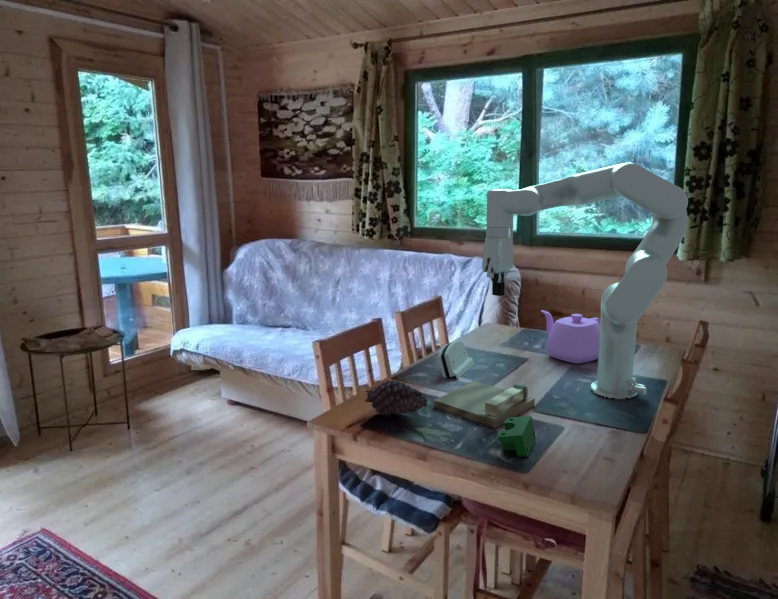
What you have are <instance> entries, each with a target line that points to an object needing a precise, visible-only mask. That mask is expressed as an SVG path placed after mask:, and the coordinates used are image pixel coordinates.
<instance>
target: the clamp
mask: <svg viewBox="0 0 778 599" xmlns="http://www.w3.org/2000/svg"><path fill="white" fill-rule="evenodd" d="M503 426H504V429H505V430H499V431H498V433H497V439H498V442H499V443H501V446H502V450H503V451H516V455H517V457H519V458H521V457H529V456H530V453H531V451H532V448H533V446H534V443H535V442H536V441H535V440H536V430H535V428H534V422H533V418H532V415H523V416H515V417H511V418H507V419H506V420H505V422H504V424H503Z"/></svg>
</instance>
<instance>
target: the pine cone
mask: <svg viewBox="0 0 778 599" xmlns="http://www.w3.org/2000/svg"><path fill="white" fill-rule="evenodd" d="M365 392H366V396H367V397H366V398H365V399H364V402H365V403H370V404H371V407H372V408H374V410H375V412H376V413H377V414H378V413H379V414H380V415H381V416H385V417H387V418H389V417H390V415H395V414H407V413H408V414H409V413H412V412H413V413H414V412H417V411H418V410H420V409H422V408H423V407H424V408H425V407H426V408H427V406H428V398H426V396H425V395H424V396H423V395H422V394H423V393H422V392H421V391H420V390H417V389H416V388H412V387H411V386H410V385H407V384H406V382H401V381H400V380H394V379H392V380H387V381H384V382H382V383H380V384H378V385H377V387H376V386H375V387H373V388H371V389H367V390H365Z"/></svg>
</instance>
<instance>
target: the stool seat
mask: <svg viewBox="0 0 778 599" xmlns="http://www.w3.org/2000/svg"><path fill="white" fill-rule="evenodd" d="M506 390H507V389H503V388H500V387H496V386H493V385H489V384H487V383H483V382H479V381H476V380H473V381H472V382H471V381H470V382H469V383H467V384H464V385H463V386H461V387H459V388H457V389H455V390H451V391H450V392H448V393H446V394H444V395H442V396H440V397H437V398H436V399H434V400H433V407H434V408H436V407H437V408H436V409H438V408H439V410H441V409H442V411H444V410H445V412H448V413H450V414H453V415H456V416H458V417H462V418H465V419H467V420H471V421H474V422H478V423H480V424H483V425H486V426H489V427H492V428H494V429H497V428H498V427H500V426H502V425H504V422H505V420H506V419H507V418H511V417H518V415H521V414H522V413H524V412H525V411H527V410H529V409H530V408H532V407H534V406H535V405H536V399H535V398H534V397H531V396H528V397H527V398H526V399H524V400H522V401H520V402H518V403H517V404H515V405H514V406H512V407H510V408H509V409H507V410H506V411H504V412H502V413H501V414H499V415H498V416H496V417H495V416H492V415H489V414H486V413H485V402H487V401H488V400H490V399H492V398H494V397H495V396H497V395H499V394H500V393H502V392H504V391H506Z"/></svg>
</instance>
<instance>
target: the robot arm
mask: <svg viewBox="0 0 778 599" xmlns="http://www.w3.org/2000/svg"><path fill="white" fill-rule="evenodd" d="M621 197H623V198H625V199H626V200H627V201H628V202H630V203H633V204H635V205H636V206H638V207H640V208H642V209H644V210H645V211H648V212H649V213H651V214H652V222H651V225H650V227H649V229H648V231H647V232H646V234H645V235H644V237H643V239H642V240H641V242H640V243H639V244H638V246H637V248H636V249H635V250H634V251H633V253H632V254H631V255H630V257H628V259H627V261H626V263H625V267H624V270H625V272H624V273H625V274H624V275H623V276H622V278H621V279H620V281H619V282H615V283H612V284H610V285H609V286H607V287H606V288H605V289H604V291H603V293H602V295H601V300H600V325H599V326H600V338H599V353H598V358H597V369H596V370H597V371H596V380H595V381H593V382H592V383H591V384H590V390H592V391H593V392H592V391H591V392H592V393H594V394H595V393H596V394H595V395H597V394H598V395H597V396H599V395H601V396H600V397H602V396H604V397H603V398H606V397H608V398H607V399H611V398H615V399H614V400H626V399H625V398H629V399H632V398H631V397H633V398H635V397H636V396H638V394H641V395H646V393H647V387H646V385H645V384H641V383H638V382H637V377H635V376H634V374H633V373H634V365H635V364H634V362H635V350H636V340H637V328H638V326H637V325H638V324H637V323H638V320H639V319H640V318H641V317H642V316H643V315H644V313H645V312H646V310H647V309H648V308H649V306H650V305H651V304H652V303H653V301H654V300H655V298H656V297H657V295H658V294H659V293H660V291H661V290H662V289H663V287H664V286H665V283H666V281H667V278H668V268H667V264H668V262H669V261H670V259H671V258H672V257H673V255H674V253H675V252H676V250H677V249H678V247H680V246H679V245H680V244H681V242H682V240H683V239H684V237H685V235H686V231H687V227H688V211H687V208H688V205H689V198H688V195H687V193H686V191H684V189H683V188H681V187H680V186H678V185H677V184H674V183H673V182H670V181H668V180H667V179H665V178H664V177H661V176H659V175H657V174H655V173H653V172H652V171H650V170H649V169H647V168H645V167H644V166H641V165H640V164H637V163H635V162H623V163H618V164H614V165H610V166H609V165H608V166H606V167H602V168H597V169H593V170H588V171H585V172H580V173H576V174H572V175H569V176H567V177H564V178H561V179H557V180H552V181H548V182H545V183H539V184H536V185H531V186H527V187H524V188H521V189H510V188H492V189H490V190H488V191H487V194H486V224H485V225H486V229H485V230H486V232H485V235H486V236H485V239H484V244H483V251H482V261H481V262H482V263H481V264H482V266H481V268H482V272H484V273H486V277H487V278H490V282H491V295H492V296H495V297H496V296H497V297H502V296H504V295H505V284H506V283H505V282H506V281H507V275H509V274H510V273H511V269H513V267H514V256H515V255H514V240H513V238H514V215H517V216H524V217H529V216H533V215H535V214H536V213H538V212H540V211H545V210H548V209H553V208H559V207H563V206H564V207H566V206H567V207H568V206H573V207H574V206H584V205H589V204H593V203H598V202H602V201H603V202H604V201H606V200H613V199H615V198H621ZM633 376H634V377H633ZM634 396H635V397H634Z"/></svg>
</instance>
